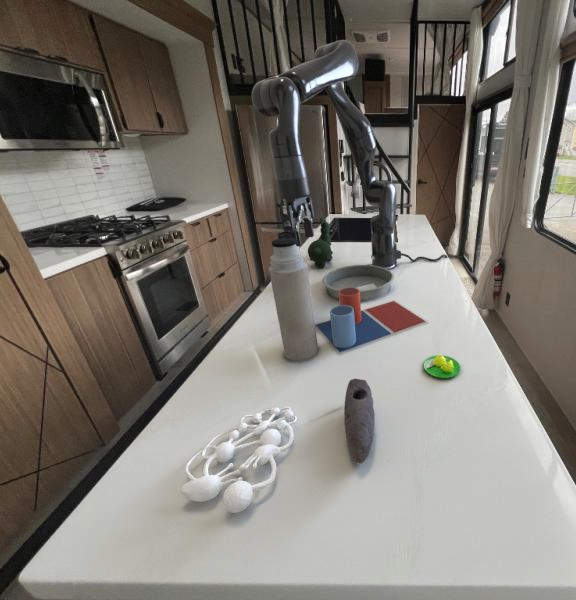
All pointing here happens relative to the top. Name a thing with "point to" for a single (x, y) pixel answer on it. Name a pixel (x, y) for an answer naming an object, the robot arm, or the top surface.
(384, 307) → the red mat
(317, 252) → the toy figurine
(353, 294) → the red tumbler
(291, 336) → the thermos bottle
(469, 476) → the top surface
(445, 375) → the green plate with lumps
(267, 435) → the tangled rod sculpture
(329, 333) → the blue mat
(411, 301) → the top surface
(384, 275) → the cake pan
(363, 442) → the perforated stone tool
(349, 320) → the blue tumbler
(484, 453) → the top surface
